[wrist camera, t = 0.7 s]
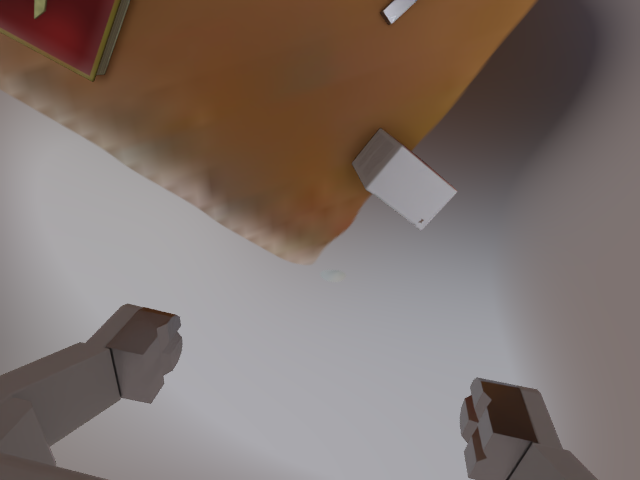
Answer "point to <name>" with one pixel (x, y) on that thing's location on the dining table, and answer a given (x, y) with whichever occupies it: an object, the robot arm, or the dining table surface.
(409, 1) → the pallet fork attachment
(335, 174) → the dining table surface
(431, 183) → the small box
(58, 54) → the hardcover book
